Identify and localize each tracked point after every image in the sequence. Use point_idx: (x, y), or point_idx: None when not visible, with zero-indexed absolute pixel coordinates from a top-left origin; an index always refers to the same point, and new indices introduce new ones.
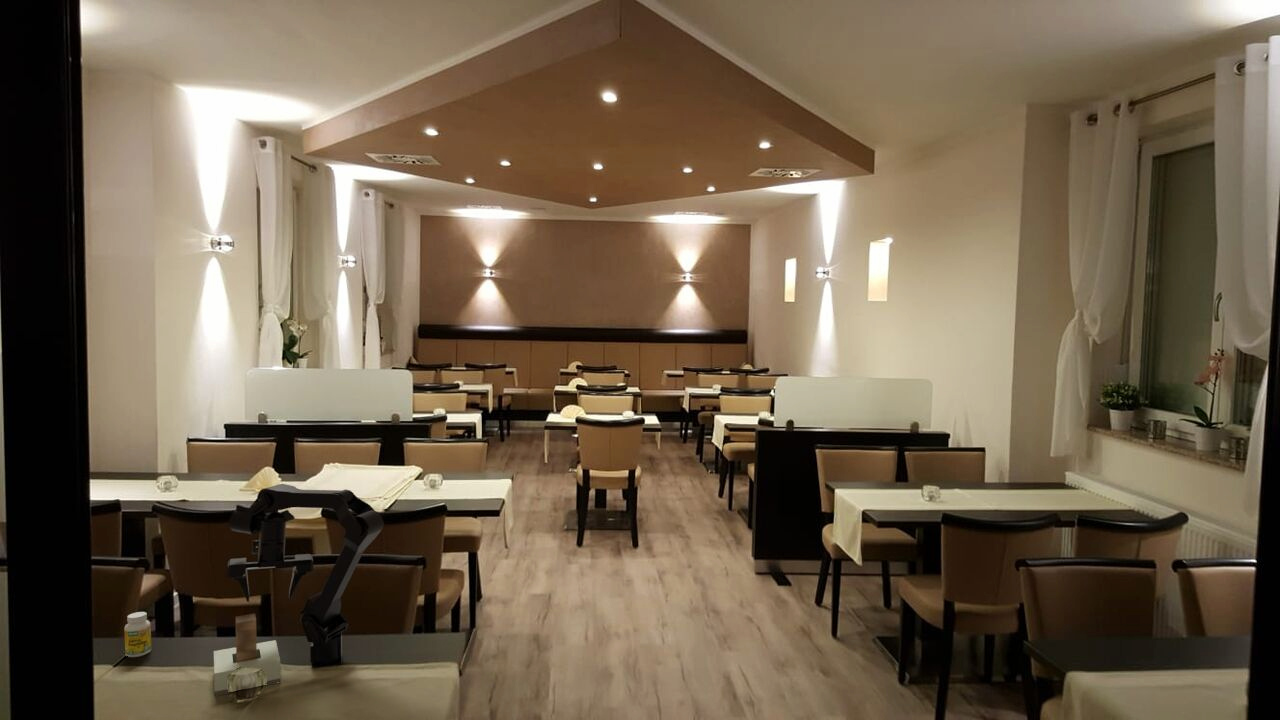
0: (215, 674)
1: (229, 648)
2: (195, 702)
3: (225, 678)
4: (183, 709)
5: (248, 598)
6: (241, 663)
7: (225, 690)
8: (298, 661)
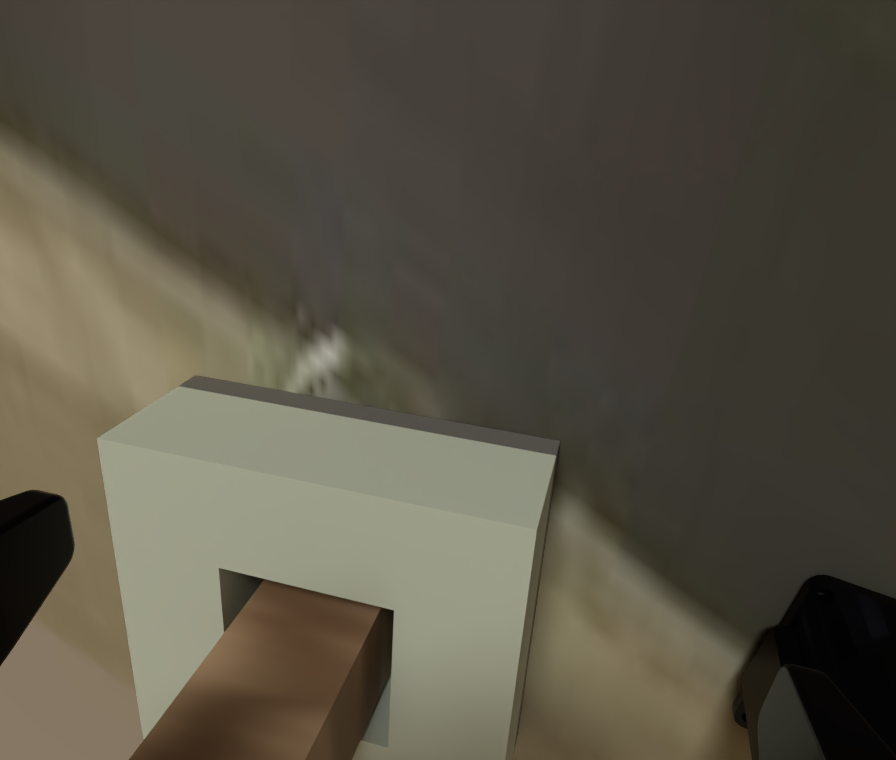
0: None
1: (194, 460)
2: None
3: None
4: (114, 675)
5: (16, 625)
6: None
7: None
8: (692, 549)
